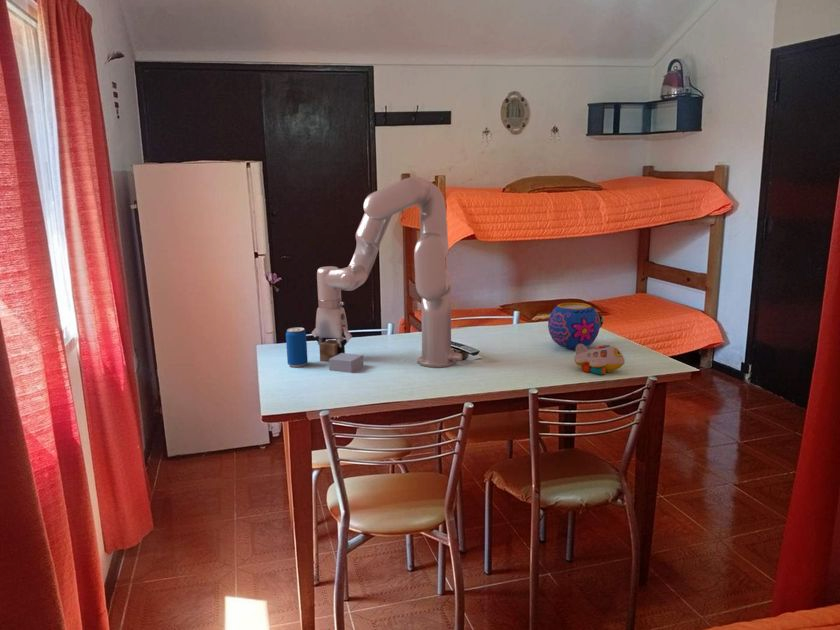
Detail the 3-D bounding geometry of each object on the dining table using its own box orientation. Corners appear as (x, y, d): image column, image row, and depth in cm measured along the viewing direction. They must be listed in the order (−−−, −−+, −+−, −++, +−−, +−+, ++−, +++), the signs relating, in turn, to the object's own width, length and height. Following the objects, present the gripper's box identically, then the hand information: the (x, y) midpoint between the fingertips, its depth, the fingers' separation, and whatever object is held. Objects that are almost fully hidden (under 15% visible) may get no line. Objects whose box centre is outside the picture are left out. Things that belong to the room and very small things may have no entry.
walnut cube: (345, 358, 227) (344, 341, 225) (335, 362, 221) (334, 345, 220) (330, 356, 229) (329, 339, 228) (320, 360, 224) (319, 343, 223)
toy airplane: (576, 338, 214) (625, 338, 208) (577, 365, 215) (626, 365, 210) (570, 349, 201) (622, 349, 196) (571, 377, 203) (623, 378, 198)
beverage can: (310, 362, 222) (308, 327, 220) (304, 367, 216) (302, 331, 214) (291, 362, 223) (288, 327, 221) (285, 367, 217) (283, 331, 214)
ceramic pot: (610, 348, 233) (611, 305, 230) (574, 356, 223) (575, 312, 220) (572, 338, 247) (573, 298, 244) (537, 346, 237) (537, 304, 234)
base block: (363, 367, 217) (363, 355, 216) (351, 373, 210) (350, 361, 209) (342, 364, 220) (341, 352, 219) (329, 371, 213) (328, 359, 212)
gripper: (358, 303, 221) (360, 356, 225) (315, 300, 229) (317, 351, 232) (345, 307, 214) (348, 362, 218) (301, 304, 222) (304, 356, 226)
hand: (332, 356), depth 225 cm, fingers closed on walnut cube, 6 cm apart
